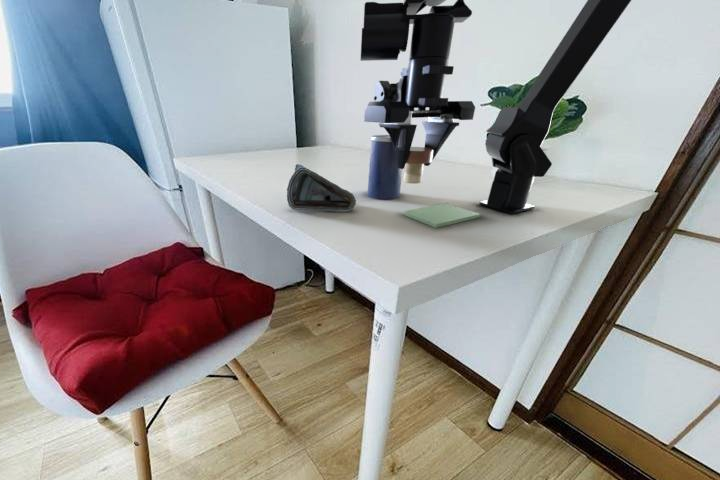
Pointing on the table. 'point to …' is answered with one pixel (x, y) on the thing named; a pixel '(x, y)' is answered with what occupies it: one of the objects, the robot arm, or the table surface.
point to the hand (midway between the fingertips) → (413, 167)
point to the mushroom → (416, 164)
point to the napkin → (441, 215)
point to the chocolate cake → (317, 193)
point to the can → (383, 169)
